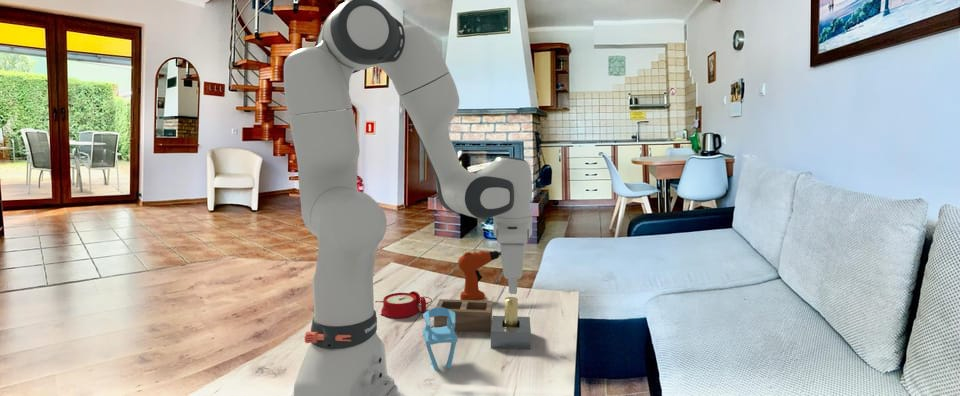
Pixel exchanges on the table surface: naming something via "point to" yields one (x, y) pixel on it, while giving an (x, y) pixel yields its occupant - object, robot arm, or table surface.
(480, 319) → the box
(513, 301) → the gold rounded rod
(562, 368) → the table surface
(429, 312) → the chair
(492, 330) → the socket block
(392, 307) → the alarm clock
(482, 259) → the toy drill
